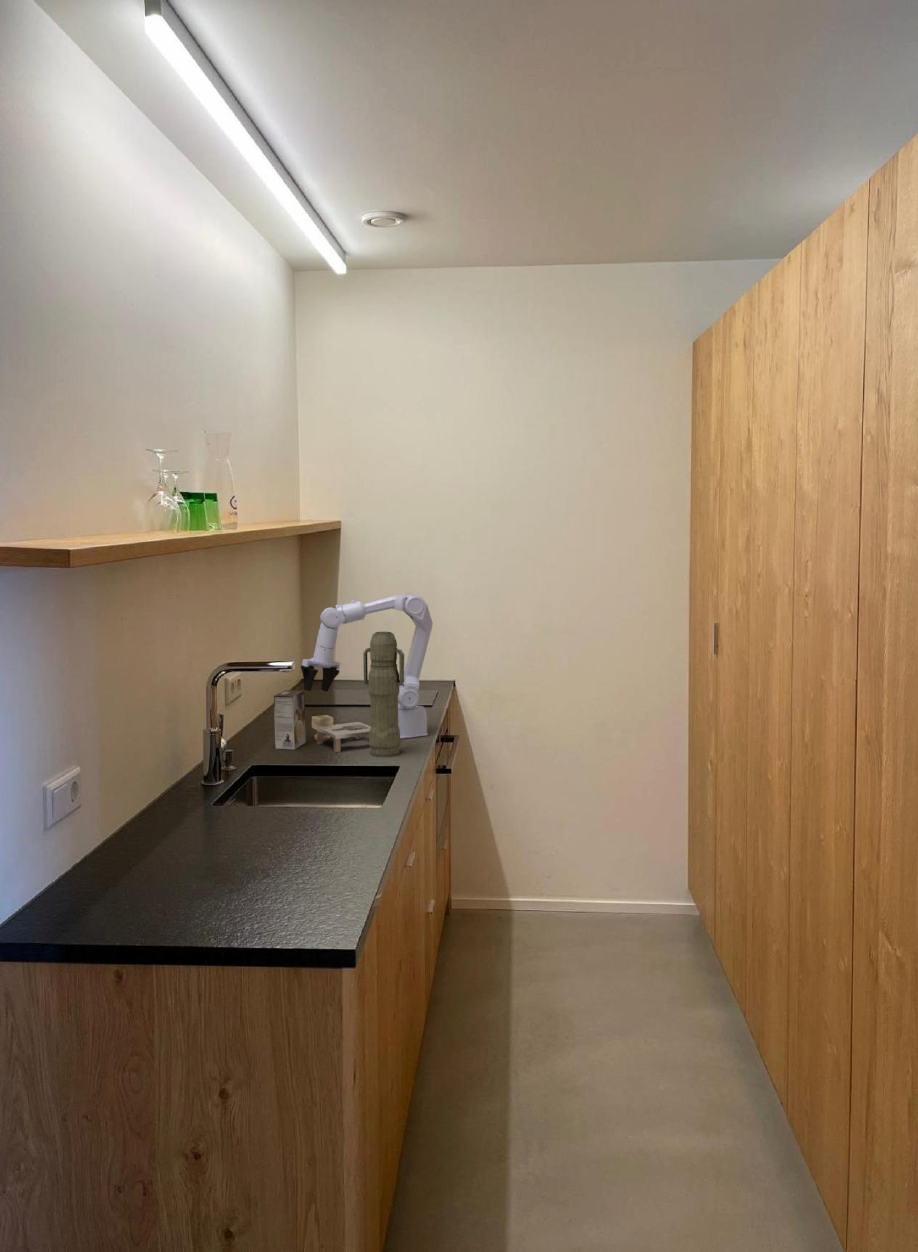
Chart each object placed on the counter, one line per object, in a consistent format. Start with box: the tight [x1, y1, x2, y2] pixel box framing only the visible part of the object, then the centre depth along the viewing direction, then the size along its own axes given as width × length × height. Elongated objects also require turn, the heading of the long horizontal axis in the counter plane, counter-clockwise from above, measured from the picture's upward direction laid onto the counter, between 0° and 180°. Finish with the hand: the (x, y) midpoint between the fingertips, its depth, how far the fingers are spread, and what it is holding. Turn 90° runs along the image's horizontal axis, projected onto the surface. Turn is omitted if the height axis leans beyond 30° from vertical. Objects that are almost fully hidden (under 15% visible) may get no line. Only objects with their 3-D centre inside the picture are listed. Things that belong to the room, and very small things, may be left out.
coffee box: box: [273, 689, 307, 750], centre depth 286 cm, size 9×6×16 cm
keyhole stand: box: [316, 721, 371, 753], centre depth 287 cm, size 14×14×5 cm
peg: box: [311, 714, 334, 741], centre depth 296 cm, size 5×5×7 cm
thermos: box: [363, 631, 405, 758], centre depth 275 cm, size 9×12×35 cm
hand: (315, 690), depth 292 cm, fingers open, 7 cm apart
